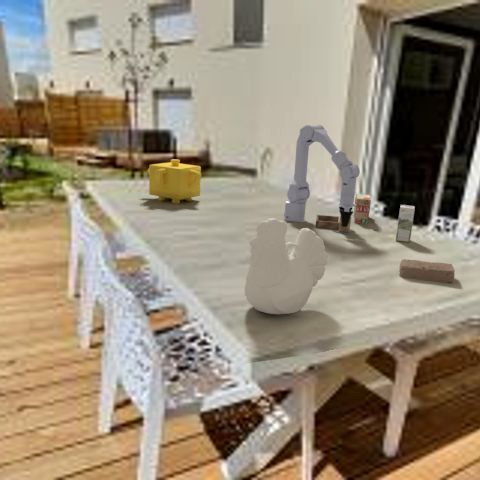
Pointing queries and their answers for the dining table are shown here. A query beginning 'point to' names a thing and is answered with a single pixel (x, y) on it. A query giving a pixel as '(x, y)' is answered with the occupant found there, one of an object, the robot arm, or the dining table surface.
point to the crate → (327, 222)
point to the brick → (427, 270)
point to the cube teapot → (174, 181)
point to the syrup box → (405, 223)
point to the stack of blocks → (362, 208)
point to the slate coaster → (343, 232)
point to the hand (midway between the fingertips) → (344, 224)
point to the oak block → (344, 229)
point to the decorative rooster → (283, 268)
